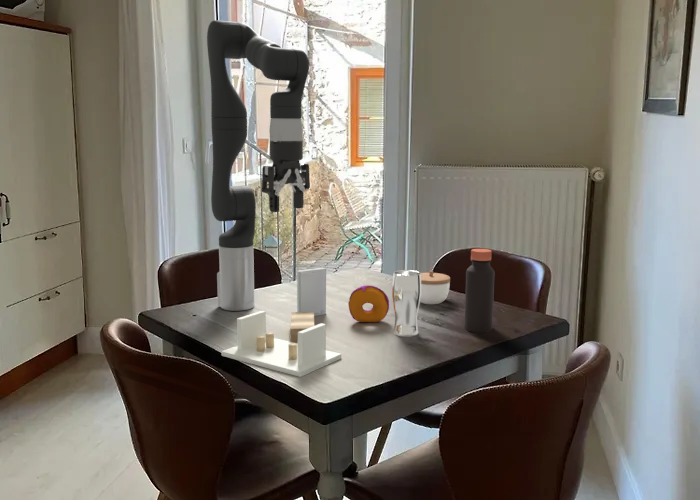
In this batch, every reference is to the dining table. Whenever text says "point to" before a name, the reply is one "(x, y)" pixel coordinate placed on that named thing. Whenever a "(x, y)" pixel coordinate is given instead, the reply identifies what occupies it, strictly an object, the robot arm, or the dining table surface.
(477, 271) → the bottle
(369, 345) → the dining table surface
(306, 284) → the external hard drive
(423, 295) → the lidded jar
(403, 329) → the beer glass
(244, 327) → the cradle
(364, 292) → the donut
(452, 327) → the dining table surface
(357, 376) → the dining table surface
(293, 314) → the plank
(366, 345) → the dining table surface
